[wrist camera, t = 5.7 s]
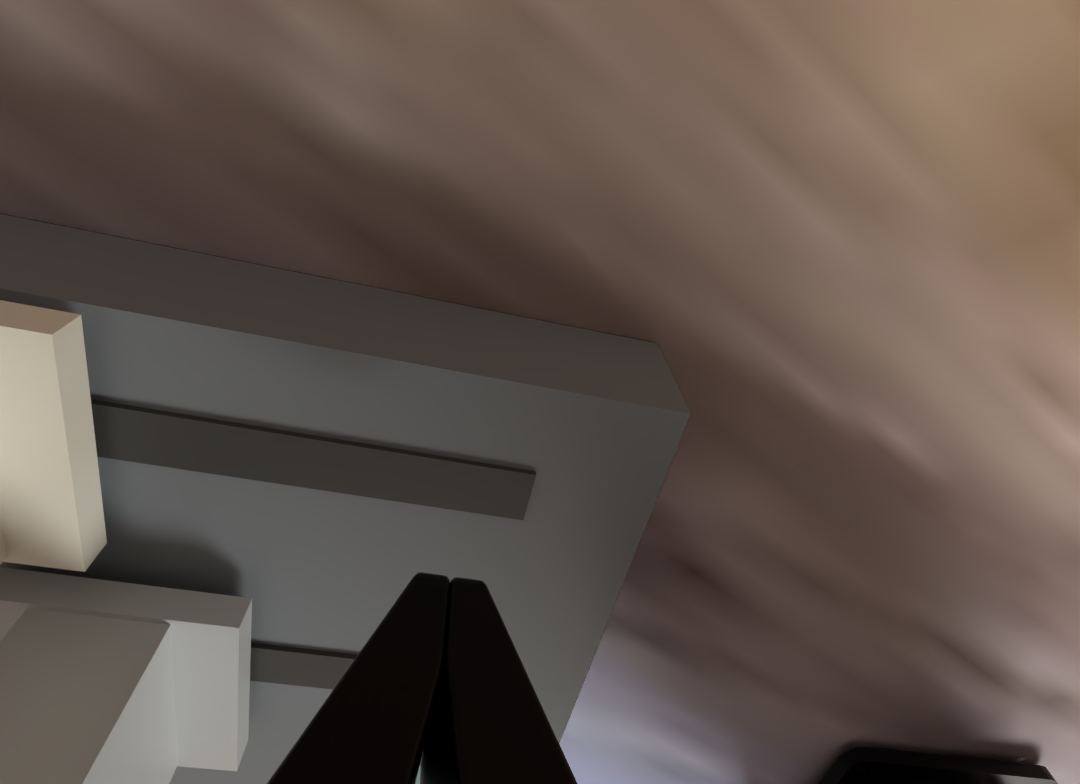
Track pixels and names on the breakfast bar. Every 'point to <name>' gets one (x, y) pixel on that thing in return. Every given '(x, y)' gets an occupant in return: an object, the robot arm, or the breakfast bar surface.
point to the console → (351, 458)
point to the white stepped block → (119, 680)
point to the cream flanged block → (47, 442)
